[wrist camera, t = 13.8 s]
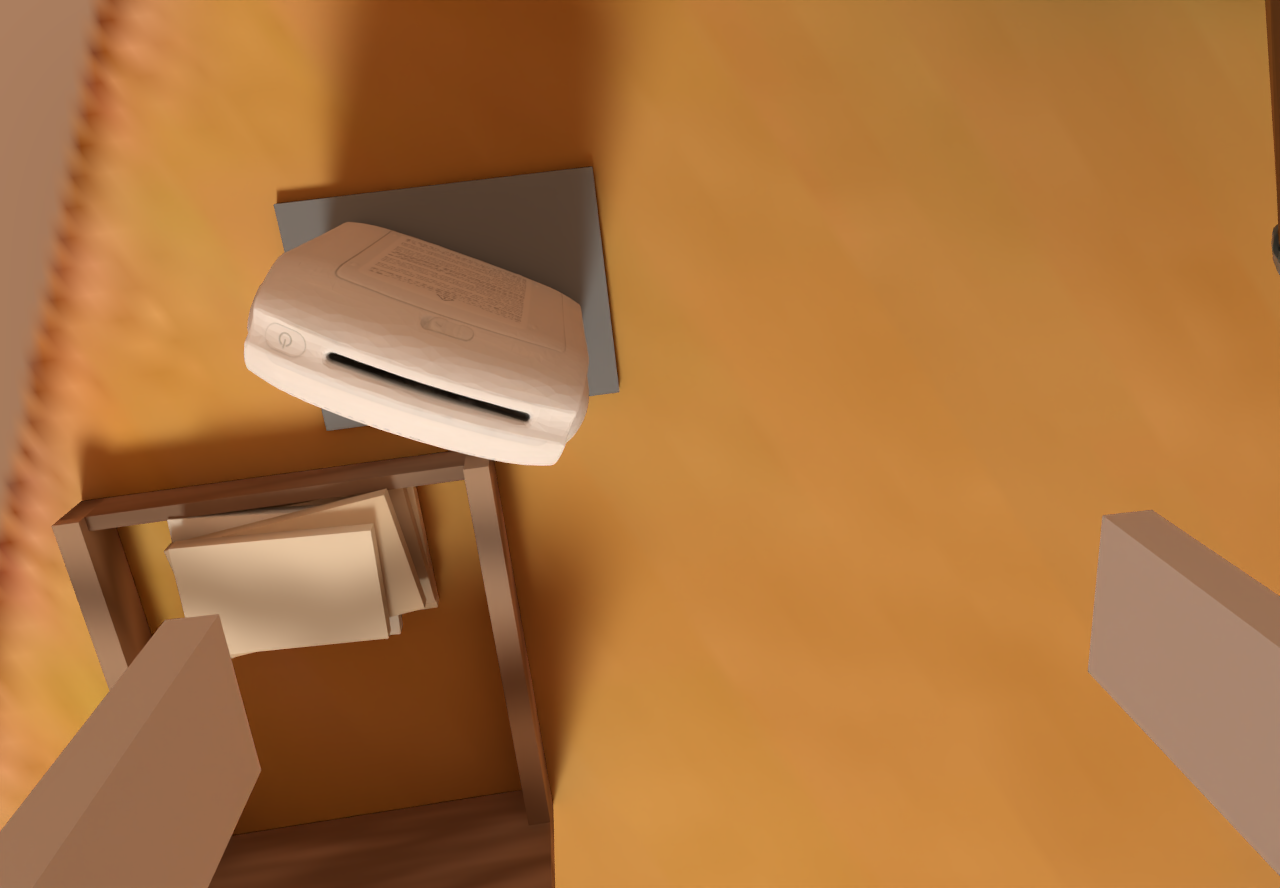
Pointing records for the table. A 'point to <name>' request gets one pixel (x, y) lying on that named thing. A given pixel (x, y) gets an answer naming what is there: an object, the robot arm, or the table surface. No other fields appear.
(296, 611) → the offcut stack
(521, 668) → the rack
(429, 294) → the photo printer
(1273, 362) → the table surface
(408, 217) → the mat
